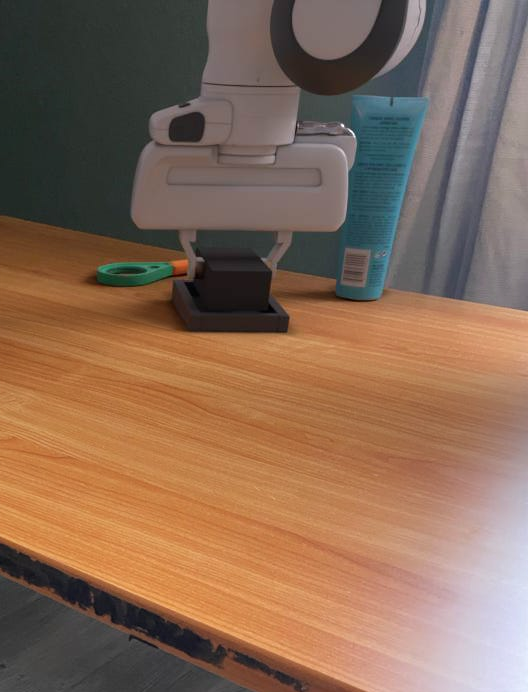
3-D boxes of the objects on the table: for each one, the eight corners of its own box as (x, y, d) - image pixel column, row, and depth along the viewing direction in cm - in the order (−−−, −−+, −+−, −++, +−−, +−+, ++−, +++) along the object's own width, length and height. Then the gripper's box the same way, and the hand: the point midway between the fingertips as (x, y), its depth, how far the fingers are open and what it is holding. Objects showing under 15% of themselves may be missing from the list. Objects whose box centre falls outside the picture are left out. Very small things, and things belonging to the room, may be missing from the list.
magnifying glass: (112, 288, 110) (113, 272, 109) (87, 277, 114) (87, 261, 113) (226, 276, 115) (228, 261, 114) (197, 266, 120) (199, 251, 119)
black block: (246, 284, 103) (250, 247, 101) (267, 310, 94) (272, 271, 92) (192, 283, 103) (196, 246, 101) (208, 310, 94) (212, 270, 92)
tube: (387, 292, 110) (424, 95, 100) (396, 302, 106) (435, 98, 96) (319, 289, 111) (349, 93, 100) (325, 300, 106) (357, 96, 96)
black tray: (257, 300, 106) (259, 280, 105) (286, 338, 94) (290, 315, 92) (171, 299, 106) (173, 279, 105) (189, 337, 93) (191, 314, 92)
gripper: (351, 118, 93) (326, 272, 100) (133, 115, 93) (125, 270, 100) (370, 125, 88) (343, 287, 95) (139, 121, 87) (130, 284, 95)
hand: (229, 278), depth 98 cm, fingers closed on black block, 5 cm apart
